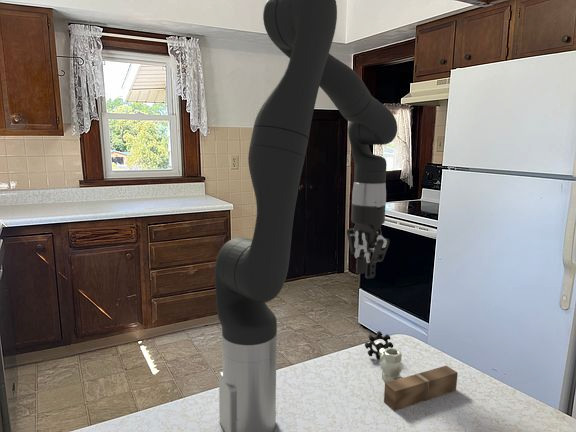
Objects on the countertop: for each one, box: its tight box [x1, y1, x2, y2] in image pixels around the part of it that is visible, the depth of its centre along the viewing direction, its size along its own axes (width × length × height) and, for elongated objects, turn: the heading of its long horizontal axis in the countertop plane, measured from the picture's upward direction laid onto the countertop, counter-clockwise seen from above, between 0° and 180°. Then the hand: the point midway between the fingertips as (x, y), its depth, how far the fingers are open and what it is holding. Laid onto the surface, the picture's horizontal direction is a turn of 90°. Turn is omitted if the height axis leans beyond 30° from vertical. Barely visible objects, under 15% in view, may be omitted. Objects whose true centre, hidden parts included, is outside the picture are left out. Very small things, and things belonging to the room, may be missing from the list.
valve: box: [364, 331, 403, 384], centre depth 92 cm, size 7×7×12 cm
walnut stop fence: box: [383, 365, 459, 412], centre depth 83 cm, size 16×3×4 cm, turn 116°
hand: (365, 275), depth 98 cm, fingers open, 3 cm apart
